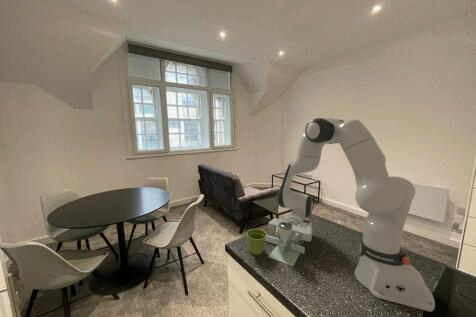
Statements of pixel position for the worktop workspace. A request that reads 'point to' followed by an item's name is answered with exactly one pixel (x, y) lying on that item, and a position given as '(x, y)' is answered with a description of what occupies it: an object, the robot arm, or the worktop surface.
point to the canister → (284, 236)
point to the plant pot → (256, 240)
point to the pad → (284, 256)
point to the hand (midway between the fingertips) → (284, 236)
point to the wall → (293, 246)
